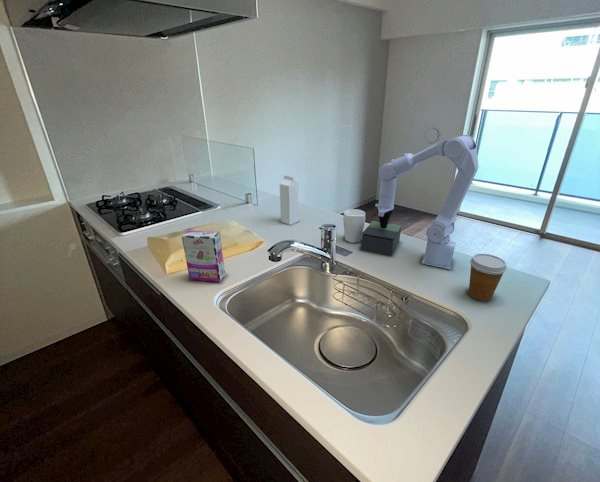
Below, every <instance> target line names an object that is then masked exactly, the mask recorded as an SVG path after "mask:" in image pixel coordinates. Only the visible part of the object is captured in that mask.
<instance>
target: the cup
mask: <svg viewBox="0 0 600 482" xmlns="http://www.w3.org/2000/svg"><path fill="white" fill-rule="evenodd" d="M366 214H367V213H366V212H365V211H364V210H362V209H357V208H356V209H355V208H351V209H350V208H349V209H346V210H344V211H343V217H342V224H343V232H344V240H345V241H346V242H348V243H352V244H356V243H360V242H361V241H362V235H363V234H362V233H363V232H364V230H365V229H364V228H365V224H366Z"/></svg>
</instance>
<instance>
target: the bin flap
mask: <svg viewBox="0 0 600 482" xmlns="http://www.w3.org/2000/svg"><path fill="white" fill-rule="evenodd" d="M367 227H371V228H377V229H383V230H389V231H394V232H397V233H398V231H399V230H400V228H401V229H402V225H399V224H393V223H388V225H387V227H386V229H385V228H381V227H380V221H375V220H372V221H371V222H370V223H369V224H368V225H367Z"/></svg>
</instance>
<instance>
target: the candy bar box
mask: <svg viewBox="0 0 600 482" xmlns="http://www.w3.org/2000/svg"><path fill="white" fill-rule="evenodd" d="M181 239H182V245H183V250H184V251H183V252H184V256H185V261H186V262H185V263H186V267H187V272H188V278H189V281H197V282H199V281H200V282H212V283H213V282H214V283H221V282H222V280H223V279H225V277H226V269H225V262H224V255H223V246H222V239H221V231H207V230H191V229H190V230H187V231H185V232H184V233H183V234H182V235H181Z"/></svg>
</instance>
